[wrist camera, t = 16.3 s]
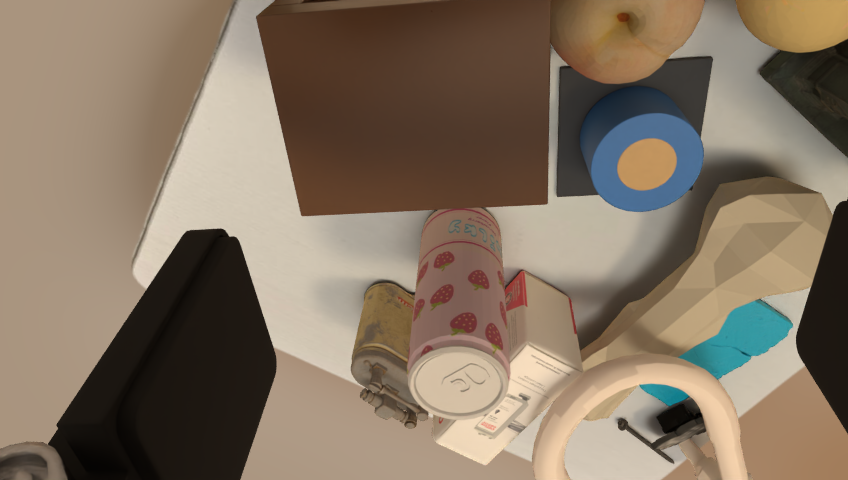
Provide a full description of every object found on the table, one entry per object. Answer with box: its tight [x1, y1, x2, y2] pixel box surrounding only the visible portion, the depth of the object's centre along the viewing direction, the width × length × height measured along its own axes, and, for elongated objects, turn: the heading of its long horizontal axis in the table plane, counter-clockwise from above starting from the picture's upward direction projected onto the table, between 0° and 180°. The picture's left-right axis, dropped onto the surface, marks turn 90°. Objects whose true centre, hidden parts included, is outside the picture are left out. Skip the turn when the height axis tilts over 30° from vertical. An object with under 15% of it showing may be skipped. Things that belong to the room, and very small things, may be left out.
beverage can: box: [407, 208, 511, 420], centre depth 39 cm, size 6×6×15 cm
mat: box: [557, 56, 713, 197], centre depth 40 cm, size 9×9×1 cm
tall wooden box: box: [256, 0, 551, 216], centre depth 30 cm, size 8×10×17 cm
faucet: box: [532, 353, 754, 480], centre depth 48 cm, size 8×15×24 cm
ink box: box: [432, 271, 583, 465], centre depth 47 cm, size 9×5×12 cm
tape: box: [580, 86, 704, 212], centre depth 38 cm, size 6×6×5 cm
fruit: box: [550, 0, 705, 84], centre depth 33 cm, size 8×8×8 cm
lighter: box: [351, 283, 428, 429], centre depth 46 cm, size 7×4×10 cm, turn 52°
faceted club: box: [580, 176, 833, 421], centre depth 44 cm, size 9×8×25 cm
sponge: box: [640, 299, 793, 406], centre depth 50 cm, size 2×12×6 cm
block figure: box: [651, 404, 706, 450], centre depth 53 cm, size 6×2×6 cm
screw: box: [618, 420, 674, 464], centre depth 56 cm, size 8×1×1 cm, turn 47°
